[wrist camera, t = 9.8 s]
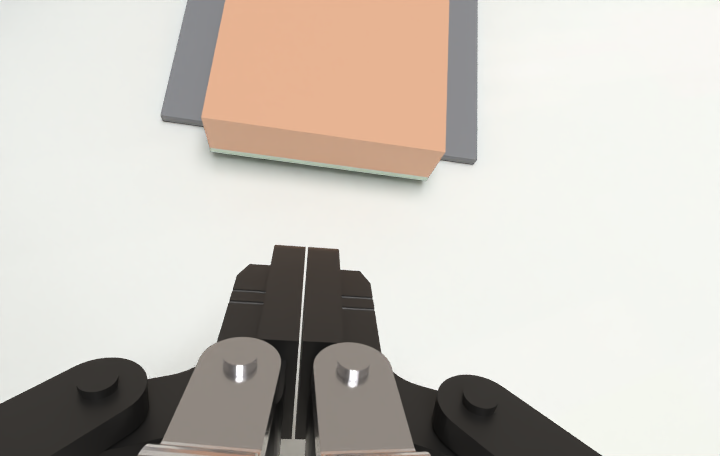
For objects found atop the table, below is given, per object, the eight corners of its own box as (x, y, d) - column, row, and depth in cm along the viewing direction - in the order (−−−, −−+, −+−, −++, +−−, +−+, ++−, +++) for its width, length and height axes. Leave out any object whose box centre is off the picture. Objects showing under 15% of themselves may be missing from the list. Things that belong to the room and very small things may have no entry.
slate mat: (162, 120, 24) (160, 115, 23) (214, -101, 28) (213, -109, 28) (473, 164, 25) (477, 159, 25) (474, -51, 30) (477, -58, 29)
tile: (201, 117, 20) (252, -134, 25) (210, 151, 23) (255, -80, 28) (445, 152, 21) (451, -95, 26) (426, 180, 24) (435, -46, 29)
